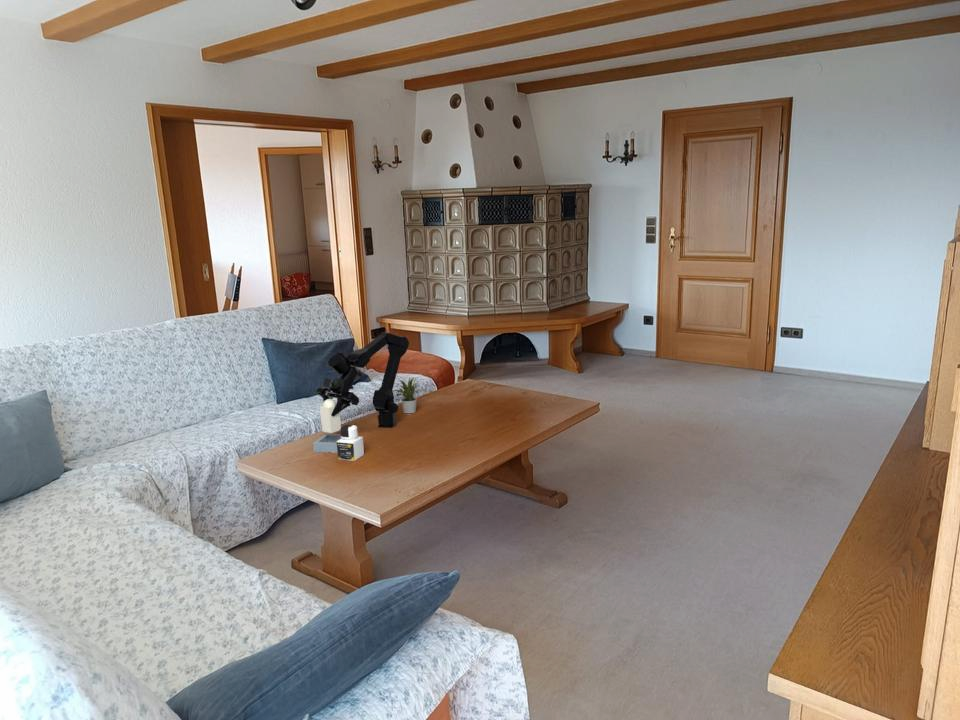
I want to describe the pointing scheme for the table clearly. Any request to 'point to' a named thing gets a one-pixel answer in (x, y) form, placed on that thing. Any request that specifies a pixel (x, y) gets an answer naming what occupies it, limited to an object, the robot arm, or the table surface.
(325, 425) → the cream egg block
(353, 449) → the medicine bottle
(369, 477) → the table surface
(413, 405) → the house plant
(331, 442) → the blue square ring
